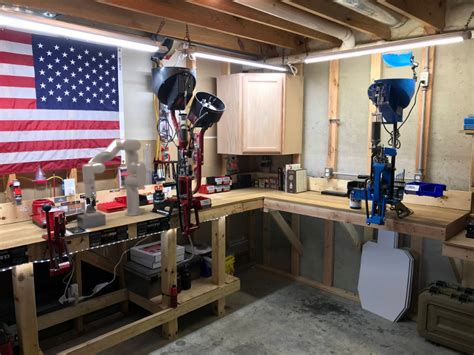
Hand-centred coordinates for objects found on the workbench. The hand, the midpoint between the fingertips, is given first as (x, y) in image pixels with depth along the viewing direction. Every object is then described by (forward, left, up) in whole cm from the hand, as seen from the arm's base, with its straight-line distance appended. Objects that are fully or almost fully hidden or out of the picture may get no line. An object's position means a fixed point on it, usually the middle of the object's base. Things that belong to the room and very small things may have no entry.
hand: (91, 205), depth 272 cm
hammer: (+5, -19, -15) cm, 25 cm away
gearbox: (+1, 0, -15) cm, 15 cm away
